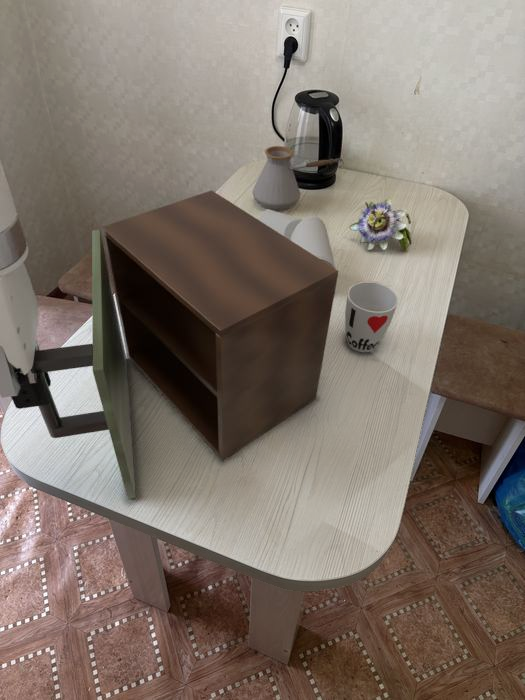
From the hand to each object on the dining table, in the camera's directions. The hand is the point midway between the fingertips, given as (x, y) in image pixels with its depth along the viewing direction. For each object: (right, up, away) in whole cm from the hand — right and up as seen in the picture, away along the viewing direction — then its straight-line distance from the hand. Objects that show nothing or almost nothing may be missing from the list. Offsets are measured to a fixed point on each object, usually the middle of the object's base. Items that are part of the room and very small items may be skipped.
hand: (34, 395), depth 52 cm
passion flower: (+50, +28, +60) cm, 83 cm away
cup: (+41, +6, +36) cm, 55 cm away
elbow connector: (+31, +21, +51) cm, 63 cm away
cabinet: (+17, 0, +28) cm, 33 cm away
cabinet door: (+1, -6, +20) cm, 21 cm away
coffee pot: (+31, +38, +69) cm, 85 cm away
